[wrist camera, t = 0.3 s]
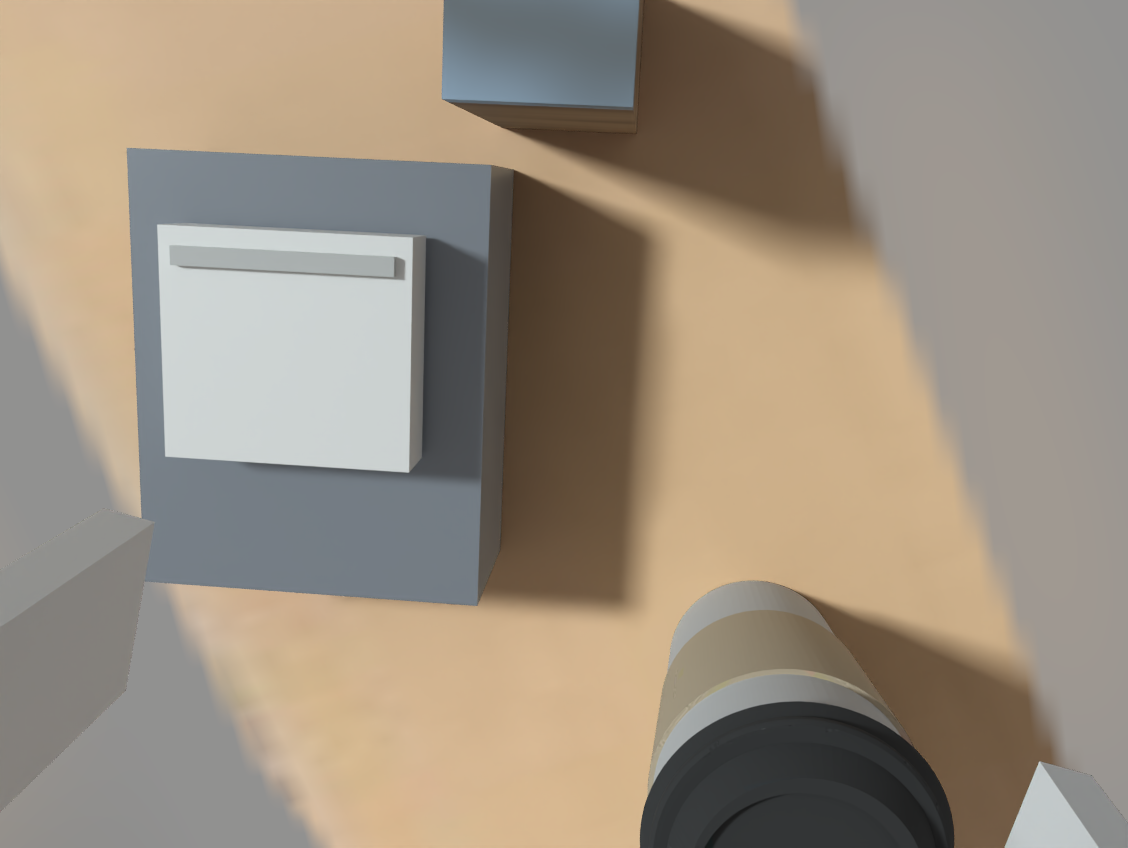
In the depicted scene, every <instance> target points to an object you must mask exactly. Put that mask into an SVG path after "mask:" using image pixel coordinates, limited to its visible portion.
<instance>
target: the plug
mask: <svg viewBox="0 0 1128 848" xmlns="http://www.w3.org/2000/svg"><path fill="white" fill-rule="evenodd" d="M643 16H644V0H444V19H443V66H442V99H443V100H445V101H447V102H449V103H451V104H454V105H456V106H458V107H460V108H462V109H464V110H466V111H468V112H470V113H472V114H474V115H477V116H479V117H481V118H483V119H485V120H487V121H489V122H491V123H493V124H495V125H498V126H500V127H502V128H520V129H543V130H565V131H587V132H610V133H632V134H636V133H637V116H638V99H639V82H640V66H641V49H642V32H643Z"/></svg>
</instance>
